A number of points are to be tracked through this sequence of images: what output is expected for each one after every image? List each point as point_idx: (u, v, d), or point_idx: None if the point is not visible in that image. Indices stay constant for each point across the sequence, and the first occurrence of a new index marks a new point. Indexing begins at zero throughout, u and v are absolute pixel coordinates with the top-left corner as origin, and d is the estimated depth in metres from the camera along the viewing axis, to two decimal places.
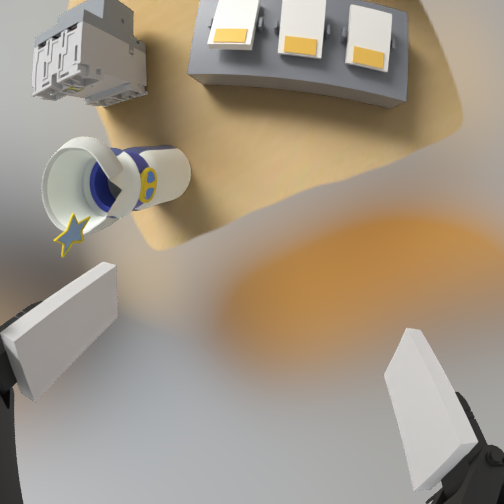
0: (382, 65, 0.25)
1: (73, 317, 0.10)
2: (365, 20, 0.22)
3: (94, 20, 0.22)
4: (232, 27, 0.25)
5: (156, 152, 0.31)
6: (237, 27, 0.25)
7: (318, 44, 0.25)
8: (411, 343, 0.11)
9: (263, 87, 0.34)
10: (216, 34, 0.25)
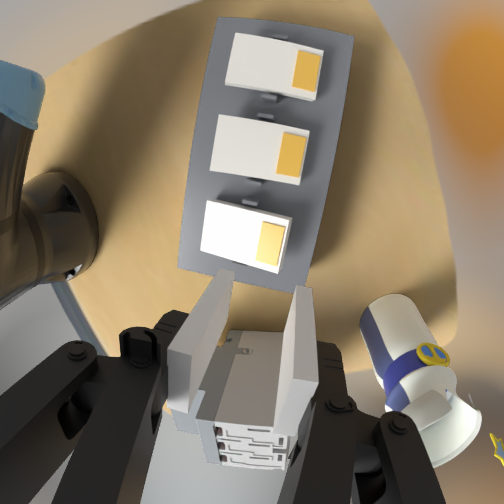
0: (315, 55, 0.20)
1: (215, 324, 0.11)
2: (250, 66, 0.20)
3: (210, 403, 0.25)
4: (256, 239, 0.24)
5: (387, 337, 0.27)
6: (256, 233, 0.24)
7: (290, 132, 0.22)
8: (295, 297, 0.13)
9: None
10: (264, 260, 0.24)
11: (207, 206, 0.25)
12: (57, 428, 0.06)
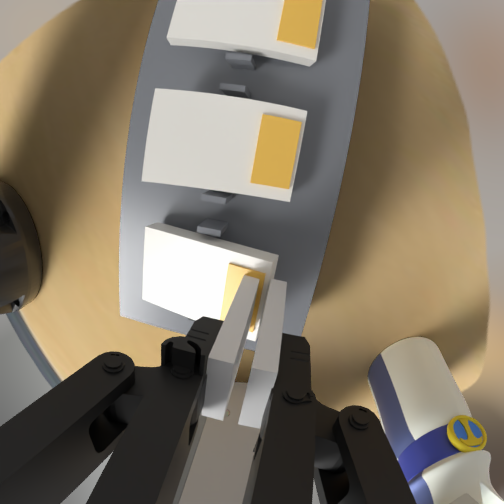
0: None
1: (246, 329, 0.11)
2: (208, 12, 0.11)
3: None
4: (220, 290, 0.15)
5: (407, 404, 0.18)
6: (220, 280, 0.15)
7: (274, 112, 0.13)
8: None
9: None
10: None
11: (146, 235, 0.16)
12: (88, 442, 0.06)
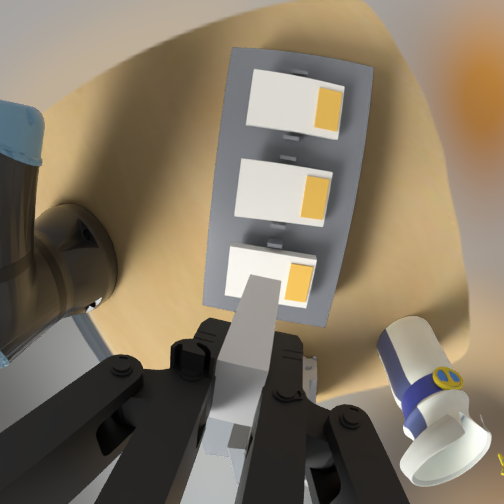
0: (336, 92, 0.20)
1: None
2: (271, 106, 0.21)
3: (240, 432, 0.25)
4: (285, 280, 0.25)
5: (405, 361, 0.27)
6: (285, 274, 0.25)
7: (313, 174, 0.22)
8: (262, 289, 0.13)
9: None
10: (293, 298, 0.25)
11: (231, 252, 0.25)
12: (94, 446, 0.06)
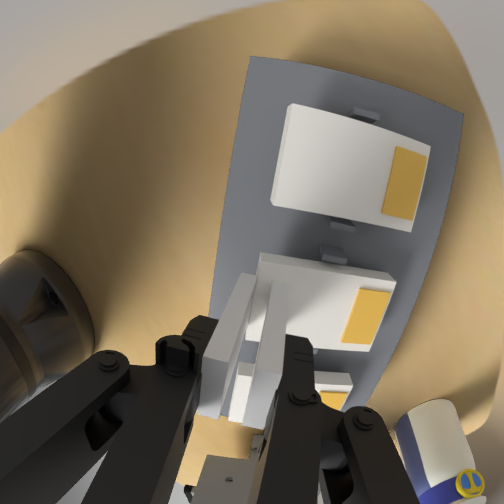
0: (419, 155, 0.12)
1: (242, 329, 0.11)
2: (318, 176, 0.12)
3: None
4: None
5: (427, 460, 0.19)
6: None
7: (369, 286, 0.14)
8: None
9: None
10: None
11: (238, 381, 0.16)
12: (83, 440, 0.06)
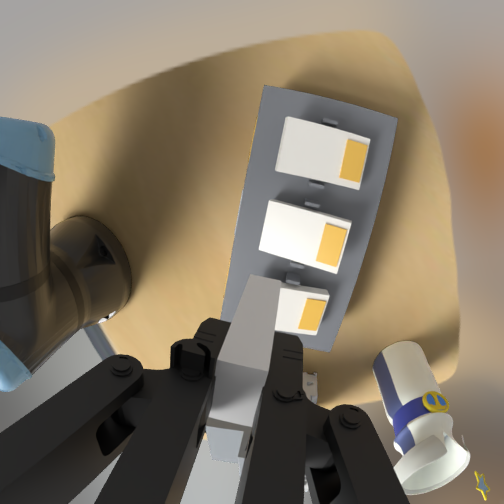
0: (362, 144, 0.22)
1: None
2: (301, 155, 0.23)
3: None
4: (300, 312, 0.27)
5: (398, 384, 0.29)
6: (300, 307, 0.27)
7: (332, 223, 0.24)
8: (262, 289, 0.13)
9: None
10: (306, 327, 0.28)
11: None
12: (95, 446, 0.06)
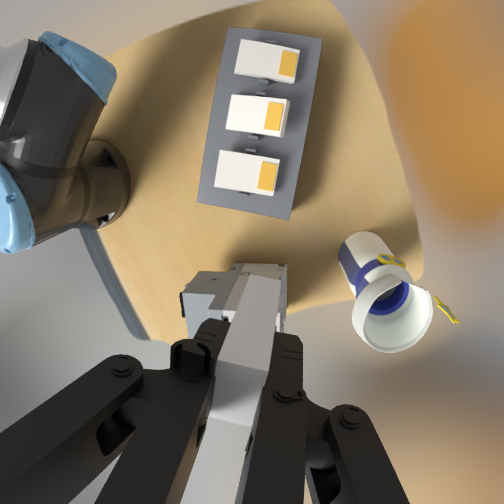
0: (294, 53, 0.30)
1: None
2: (250, 61, 0.30)
3: (219, 301, 0.35)
4: (257, 174, 0.35)
5: (356, 254, 0.37)
6: (257, 169, 0.35)
7: (273, 101, 0.31)
8: (262, 289, 0.13)
9: None
10: (264, 188, 0.35)
11: (220, 154, 0.34)
12: (94, 445, 0.06)
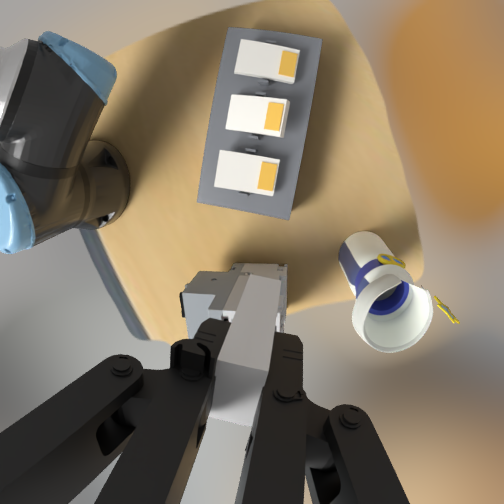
0: (294, 53, 0.30)
1: None
2: (250, 61, 0.30)
3: (219, 301, 0.35)
4: (257, 174, 0.35)
5: (356, 254, 0.37)
6: (257, 169, 0.35)
7: (273, 101, 0.31)
8: (262, 289, 0.13)
9: None
10: (264, 188, 0.35)
11: (220, 154, 0.34)
12: (95, 446, 0.06)
